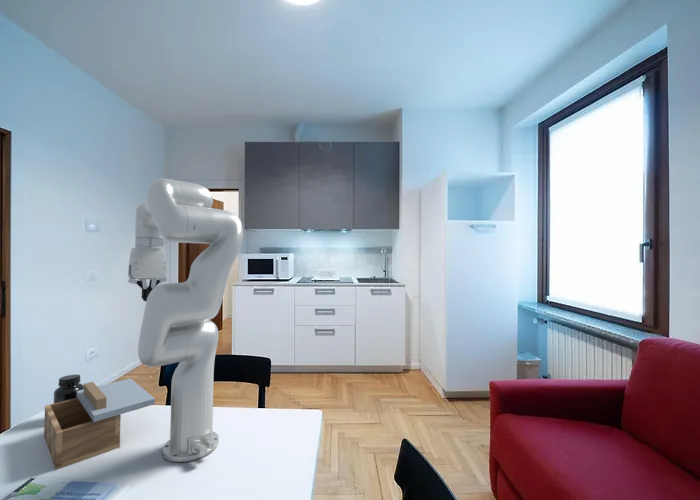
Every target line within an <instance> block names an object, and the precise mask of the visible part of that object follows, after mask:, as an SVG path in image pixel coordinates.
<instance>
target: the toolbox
mask: <svg viewBox="0 0 700 500" xmlns="http://www.w3.org/2000/svg"><path fill="white" fill-rule="evenodd" d="M121 415H122V414H120V415H117V416H113V417H110V418H106V419H103V420H99V421H96V422H93V420H92V419H91V417H90V416H89V414H88V413H87V411H86V410H85V408H84V407H83V405H82V404H81V402H80V401H79V399H78V398H75V399H71V400H67V401H63V402H59V403H54V402H53V403H51V404H46V405H44V425H43V426H44V428H43V431H44V432H43V438H44V442H45V444H46V446H47V449H48V453H49V455H50V458H51V462H52V464H53V467H54V469H55V471H57V470H59V469H62V468H65V467H68V466H71V465H73V464H74V465H75V464H76V463H79V462H82V461H85V460H88V459H91V458H93V457H96V456H99V455H101V454H104V453H108V452H110V451H113V450H116V449H119V448H121V419H122V418H121V417H122V416H121Z"/></svg>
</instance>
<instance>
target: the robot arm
mask: <svg viewBox="0 0 700 500" xmlns="http://www.w3.org/2000/svg"><path fill="white" fill-rule="evenodd" d="M213 204H214V198H213V195H212V193H211V192H210V190H209V189H208V188H206V187H205V186H203V185H201V184H198V183H194V182H190V181H184V180H183V181H182V180H176V179H171V178H164V177H163V178H162V177H161V178H157V179H155V180H154V181H152V182H151V183H150V185H149V186H148V189H147V192H146V201H144V202H142V203H140V204H139V205H138V206H137V207H136V209H135V229H134V231H135V242H134V247H132V248H131V249H130V250H131V251H130V254H129V261H128V269H127V277H128V283H129V284H135V285H137V286H138V287H139V288H140V289H141V299H142V300H143V301H144V302H146V303H145V307H144V312H143V317H142V322H141V327H140V333H139V338H138V344H137V353H138V354H137V355H138V359H139V361H140V363H141V365H143V366H145V367H148V368H155V367H161V366H167V365H172V364H176V363H178V365H177V367H176V368H175V369H174V372H173V375H172V378H171V387H170V388H171V391H170V394H171V395H170V431H169V433H170V434H169V435H170V437H169V440H167V442H165V444H164V445H163V446H162V456H163V458H164V459H166V460H167V461H170V462H175V463H176V462H177V463H182V462H183V463H184V462H189V461H190V462H191V461H195V460H197V459H200V458H204V457H205V456H207V455H209V454H210V453H211V452H213V451H214V450H215V449H216V448H217V447H218V445H219V442H220V441H219V439H220V438H219V435H218V434H217V432H215V431H213V423H214V422H213V421H214V420H213V418H214V413H213V412H214V377H215V376H214V373H215V370H214V369H215V361H216V360H215V358H216V352H217V348H218V343H219V336H220V335H219V329H218V326H217V325H216V324H215V322H213V321H212V319H214V318H215V317H216V316H217V315H218V314H219V312H220V310H221V306H222V303H223V299H224V295H225V291H226V286H227V284H228V279H229V275H230V273H231V269H232V268H233V265H234V263H235V261H236V259H237V258H238V255H239V253H240V250H241V248H242V245H243V239H244V231H243V230H244V229H243V224H242V221H241V219H240V218H239V216H237V215H236V214H235V213H233V212H231V211H228V210H224V209H219V208H213ZM168 242H170V243H171V242H172V243H179V244H180V243H182V244H184V243H185V244H206V245H207V244H209V246H208V247H207V248H205V249H204V250H203V251H202V252H200V253H199V255H198V256H197V257H196V258H195V259H194V260H193V262H192V264H191V265H190V269H189V275H188V278H187V279H186V280H185V281H184V282H172V283H171V282H168V283H165V282H167V275H168V274H167V273H168V270H167V256H166V252H165V248H163V247H164V246H167V244H168ZM147 280H149V281H148V283H147ZM161 283H162V284H161Z"/></svg>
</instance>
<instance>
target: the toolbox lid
mask: <svg viewBox="0 0 700 500" xmlns="http://www.w3.org/2000/svg"><path fill="white" fill-rule="evenodd" d="M83 385H84V389H83V390H79V391H77V398H78V399H79V401H80V402H81V404H82V405H83V407H84V408H85V410H86V411H87V413H88V414H89V416H90V417H91V419H92V420H93V422H96V421H99V420H103V419H106V418H110V417H113V416H117V415H123V414H126V413H129V412H130V413H131V412H132V411H133V412H134V411H137V410H140V409H143V408H146V407H151V406H154V405H156V398H155V397H154V396H152V395H151V394H150V392H147V390H145V389H144V388H143V387H142V386H140V384H139V383H137V382H136V381H135V380H133V379H132V378H126V379H123V380H119V381H115V382H110V383H105V384H101V385H97V384H96V383H94V382H93V381H89V382H85V383H83Z"/></svg>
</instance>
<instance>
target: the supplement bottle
mask: <svg viewBox="0 0 700 500" xmlns="http://www.w3.org/2000/svg"><path fill="white" fill-rule="evenodd" d="M57 385H58V387H57V388H56V389H55V390H54V392H53V404H54V403H59V402H63V401H67V400H71V399H75V398H77V391H79V390H83V389H84V383H81V375H80V374H68V375H64V376H62V377H60V378H58V384H57Z"/></svg>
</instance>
